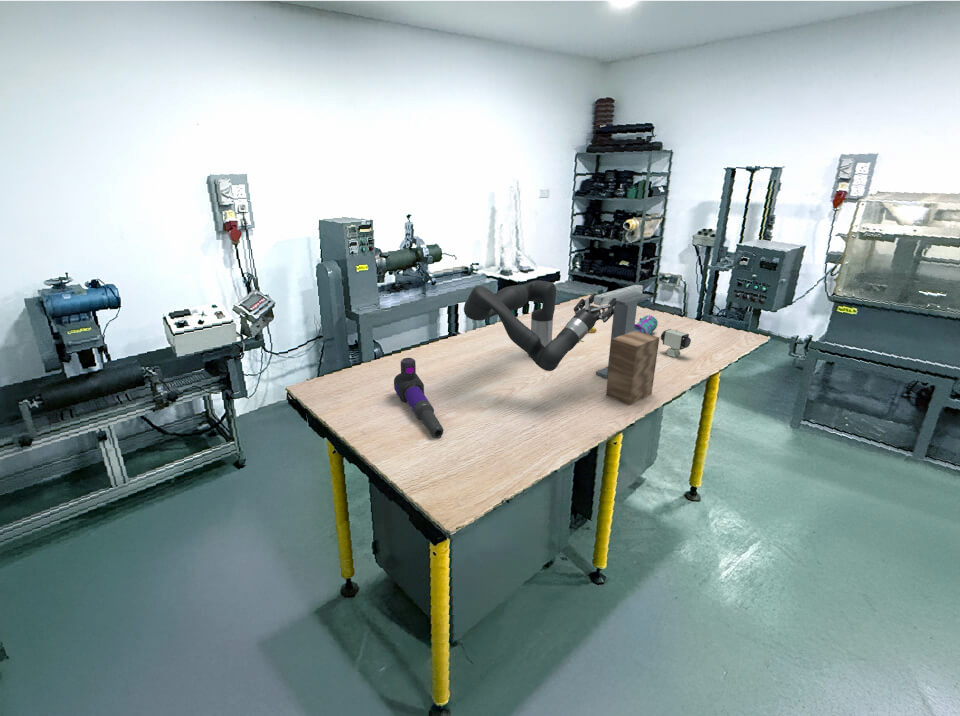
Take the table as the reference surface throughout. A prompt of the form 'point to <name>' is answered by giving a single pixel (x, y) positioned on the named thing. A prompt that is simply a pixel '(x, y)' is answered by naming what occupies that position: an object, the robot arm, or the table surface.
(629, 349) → the block
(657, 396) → the table surface
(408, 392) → the device
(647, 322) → the pencil case
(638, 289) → the aluminium bar
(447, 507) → the table surface
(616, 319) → the steel stand
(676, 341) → the mini surveillance camera
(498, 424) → the table surface
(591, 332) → the key
